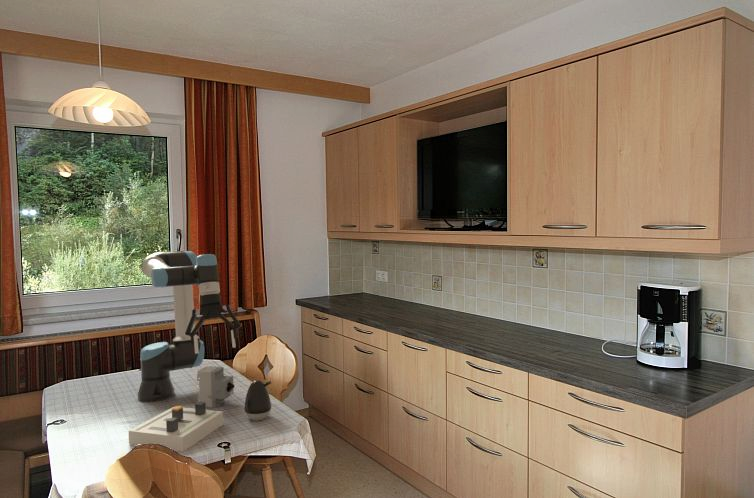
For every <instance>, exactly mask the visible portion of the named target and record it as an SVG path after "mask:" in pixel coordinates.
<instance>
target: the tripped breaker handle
mask: <svg viewBox="0 0 754 498" xmlns="http://www.w3.org/2000/svg"><path fill="white" fill-rule="evenodd" d="M173 407H174V408H173ZM173 407H171V408H172V417H174V418H178V421H180V420H181V419H183V408H184V406H183V405H175V406H173Z"/></svg>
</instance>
